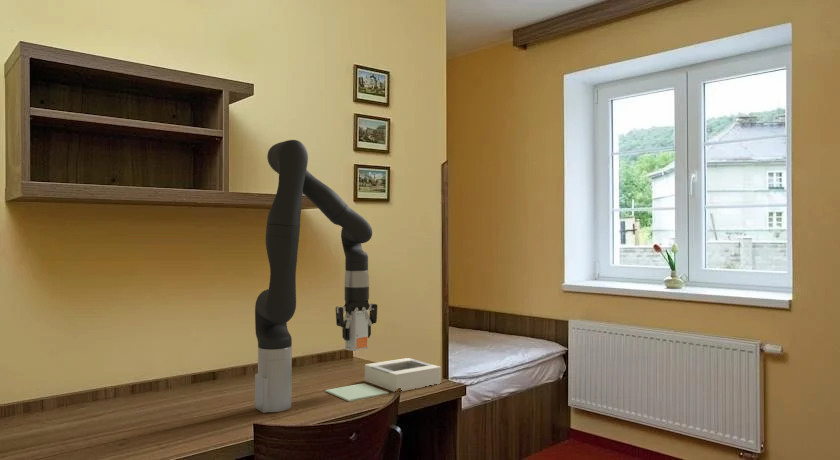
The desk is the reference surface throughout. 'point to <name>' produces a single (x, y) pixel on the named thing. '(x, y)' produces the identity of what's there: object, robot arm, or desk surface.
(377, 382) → the access box
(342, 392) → the place mat
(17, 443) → the desk surface
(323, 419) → the desk surface
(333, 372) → the desk surface
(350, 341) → the skincare box
